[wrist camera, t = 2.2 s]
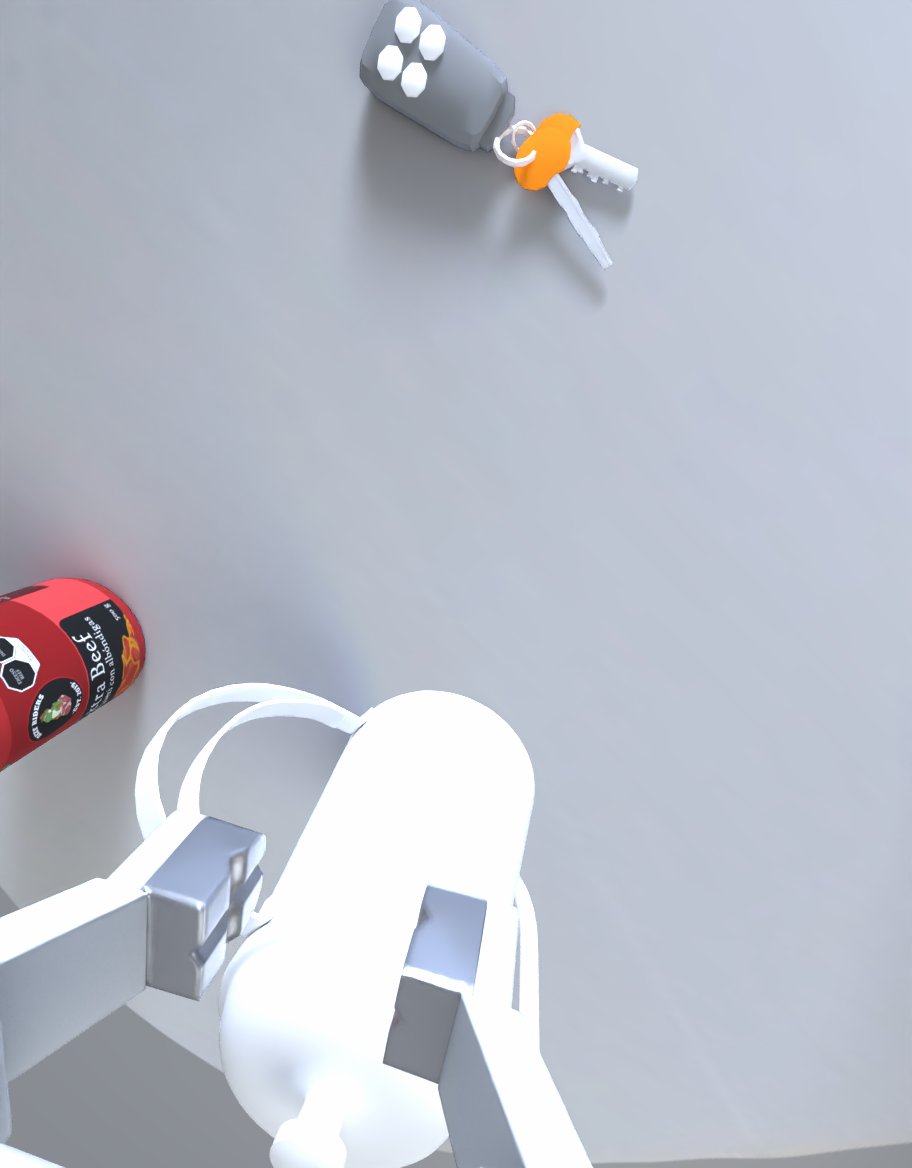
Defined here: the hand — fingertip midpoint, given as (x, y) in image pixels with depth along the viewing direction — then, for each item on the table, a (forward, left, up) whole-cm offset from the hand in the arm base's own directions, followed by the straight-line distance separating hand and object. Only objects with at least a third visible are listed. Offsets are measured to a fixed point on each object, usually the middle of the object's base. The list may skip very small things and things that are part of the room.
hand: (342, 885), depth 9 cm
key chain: (+3, -18, -21) cm, 28 cm away
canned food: (+23, +10, -21) cm, 33 cm away
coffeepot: (0, +13, -21) cm, 25 cm away
